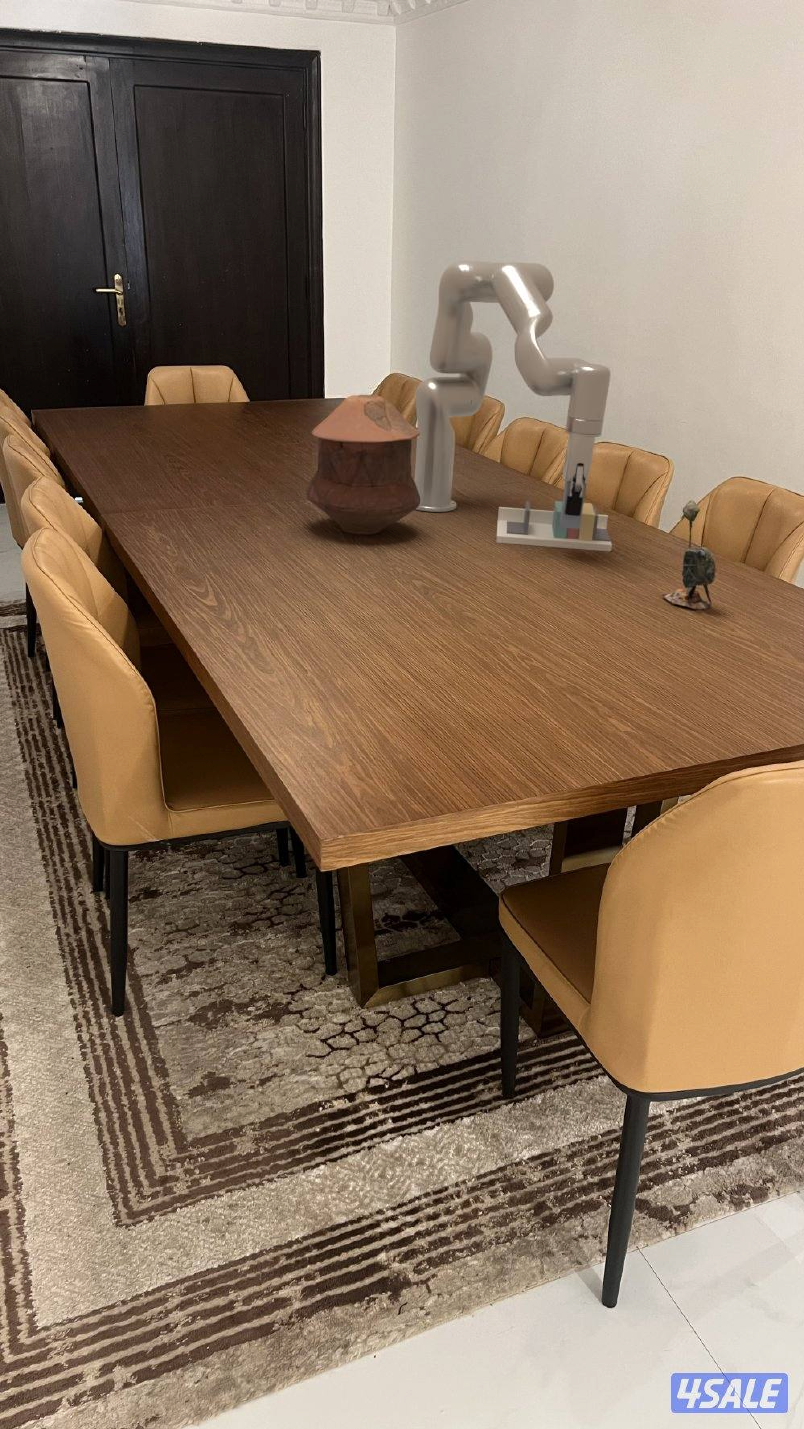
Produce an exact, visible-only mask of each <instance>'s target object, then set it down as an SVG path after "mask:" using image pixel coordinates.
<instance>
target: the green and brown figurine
mask: <svg viewBox="0 0 804 1429" xmlns="http://www.w3.org/2000/svg"><path fill="white" fill-rule="evenodd" d="M700 510H701V509H700V507H699V506H698V504H697V503H696V502H695V501H694V500H689V501H688V502H687V503H686V505H685V506H684V507H683V508H682V513H683V514H682V515H681V517H680V519H681V520H683V519H684V518H686V520H687V521H689V524H688V526H689V529H688V530H689V541H688V549H686V550H684V551H685V552H684V555H683V562H682V572H681V575H682V583H683V588H679V589H676V590H675V591H673V592H669V593H665V594H663V593H662V597H663V598H664V599H665V600H667V601H669V603H670V604H672V605H674V604H675V605H678V606H682V607H686V608H689V609H693V610H697V611H698V610H699V611H700V610H704V609H709V608H711V607H712V605H713V603H714V602H713V599H712V598H711V596H710V591H709V587H708V585H711V584H713V582H714V581H715V579H716V576H717V575H716V571H717V569H716V561H715V559H714V556H713V555H712V553H711V551H710V550H709V549H708V548H707V547H703V546H694V547H691V544H692V528H693V522H695V521H696V518H697V516H698V515H699V512H700ZM697 586H698V587H699V586H703V589H704V592H705V594H706V598H707V600H708V601H709V602H708V601H707V600H706V599H704V598H702V597H701V594H700V593H699V591H698V590H696V589H697Z"/></svg>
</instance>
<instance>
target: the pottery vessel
mask: <svg viewBox="0 0 804 1429" xmlns="http://www.w3.org/2000/svg"><path fill="white" fill-rule="evenodd" d="M310 434H311V435H312V436H313V437H315V438H318V439H317V445H318V446H317V448H318V449H317V451H318V452H317V453H318V454H317V470H316V472H315V473H314V474H313V476H312V478H311V479H310V481H309V483H308V485H307V487H306V491H305V494H306V497H307V499H308V500H309V501H310V502H311V503H312V504H313V505H314V506H316V507H318V509H320V510H321V511H322V512H324V513H325V514H326V515H327V516H328V517H329V518H331V519H332V520H334V521H335V523H336V524H338V526H340V529H341V530H342V532H345V533H348V534H349V533H350V534H354V535H374V534H378V533H380V532H382V531H383V529H384V528H386V527H388V526H391V525H392V524H394V523H397V522H398V521H400V520H401V519H403V518H404V517H406V516H408V515H409V514H411V513H412V512H413V511H414V510H417V509H416V508H417V507H418V506H419V504H420V496H419V493H418V490H417V487H416V484H415V479H414V478H413V476H412V459H411V458H412V457H411V456H412V454H411V453H412V441H413V439H415V438H417V436H419V435H420V431H419V430H417V428H416V427H415V426H413V425H412V424H410V422H409V421H408V420H407V419H406V418H405V417H404V416H403V414H401V412H400V411H399V409H397V408H396V407H395V406H394V405H393V404H392V403H391V402H389V400H387V399H385V398H384V397H383V396H380V395H377V394H356V395H355V394H354V395H350V396H346V398H344V400H342V402H341V403H340V404H339V405H338V406H337V407H336V408H335V409H334V410H333V411H332V412H331V413H330V414H329V415H328V416H327V417H326V418H325V419H323V421H321V422H320V423H319V424H318V425H317V426H316V427H314V428H313V430H311V432H310Z"/></svg>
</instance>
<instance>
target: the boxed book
mask: <svg viewBox="0 0 804 1429" xmlns="http://www.w3.org/2000/svg"><path fill="white" fill-rule="evenodd" d="M573 481H574V482H576V479H573ZM570 483H571V481H568V482H565V481H564V488H563V489H564V490H563V496H562V509H561V516H560V524H561V527H563V528H573V529H580V523H581V516H582V510H583V503H585V502H584V501H585V495H586V489H587V483H588V482H587V483H586V484H584V486H583V494H582V497H583V499H582V506H581V512H580V515H579V516H573V515H566V514H565V510H566V503H567V496H569V490H570ZM584 483H585V482H584ZM574 486H575V485H573V487H574Z"/></svg>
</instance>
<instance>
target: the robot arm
mask: <svg viewBox="0 0 804 1429" xmlns="http://www.w3.org/2000/svg"><path fill="white" fill-rule="evenodd" d="M554 286H555V283H554V277H553V275H552V273H551V271H550V270H549V268H547V267H546V266H545V265H543V264H542V263H536V262H535V263H533V262H514V261H513V262H507V263H506V262H505V263H504V262H492V261H490V262H488V261H477V260H475V261H473V260H471V261H470V260H467V261H465V260H464V261H459V262H454V263H451V264H450V265H448V267H446V269H445V270H444V272H443V273H442V275H441V277H440V280H439V285H438V308H437V313H436V314H437V315H436V319H435V324H434V330H433V336H432V339H431V345H430V353H429V364H430V367H431V368H432V369H433V371H435V372H437V373H440V374H449V375H450V374H452V375H455V374H459V376H438V377H437V376H435V377H430V378H427V379H425V380H423V381H421V383H419V385H418V386H417V388H416V391H415V396H414V397H415V398H414V400H415V409H416V410H415V411H416V418H417V423H416V425H417V428H416V429H417V430H419V431H420V435H419V436H417V437H416V449H415V450H416V451H415V452H416V453H415V455H416V456H415V471H414V482H415V484H416V487H417V490H418V493H419V496H420V504H419V506H418V507H417V508H416V509H415V510H417V511H423V512H432V513H433V512H434V513H443V512H445V513H446V512H451V511H454V510H456V509H457V502H456V501H455V500H453V499H452V488H453V474H454V473H453V472H454V464H455V463H454V460H455V451H456V450H455V448H456V435H455V433H456V432H455V430H454V427H453V426H452V424H451V420H450V419H451V418H459V417H460V418H462V417H471V416H474V415H475V414H476V413H478V412H479V411H480V408H481V406H482V405H483V404H482V403H483V401H484V397H485V394H486V388H487V384H488V380H489V376H490V373H491V366H492V363H493V362H492V361H493V348H492V344H491V341H490V340H489V337H488V336H486V335H485V334H484V333H482V332H478V331H472V327H473V321H474V312H473V307H472V304H471V303H484V304H489V303H491V304H492V303H493V304H499V306H500V307H501V309H502V310H503V312H504V314H505V316H506V318H507V319H508V321H509V323H510V324H511V326H512V328H513V330H514V332H515V334H516V338H515V342H514V361H515V365H516V367H517V370H518V372H519V373H520V376H521V377H522V379H523V381H524V382H525V384H526V385H527V387H528V388H529V390H530V391H531V392H532V393H533V394H535V395H537V396H540V397H557V396H558V397H559V396H564V397H565V396H569V402H568V411H567V416H566V424H565V434H566V433H567V434H568V440H567V446H566V453H565V458H564V463H563V469H562V477H563V481H564V483H565V482H568V481H571V483H570V490H569V496H567V503H566V510H565V514H566V515H573V516H579V515H580V512H581V506H582V499H583V497H582V494H583V486H584V484H586V483H588V480H589V475H590V471H591V465H592V461H593V453H594V447H595V443H596V442H595V440H596V438H599V437H601V436H602V432H603V425H604V420H605V419H604V417H605V412H606V407H607V406H606V405H607V398H608V394H609V393H608V392H609V386H610V382H611V369H610V368H609V367H608V366H605V365H602V364H598V363H597V364H595V363H590V362H588V361H586V360H584V359H581V358H576V357H575V358H574V357H566V358H565V357H552V358H551V357H550V358H547V356H546V355H545V354H544V352H543V350H542V348H541V346H540V344H539V343H538V340H537V339H539V338H540V337H541V336H543V335H544V334H545V333H546V332H547V330H548V329H549V328H550V327H551V325H552V323H553V319H554V318H553V316H554V315H553V313H552V310H551V308H550V307H549V306H548V303H547V302H548V301H549V300H550V298H551V297H552V295H553V292H554V288H555V287H554ZM573 479H576V482H574V481H573ZM584 482H585V483H584ZM573 485H575V486H574V487H573ZM586 485H587V484H586Z"/></svg>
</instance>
